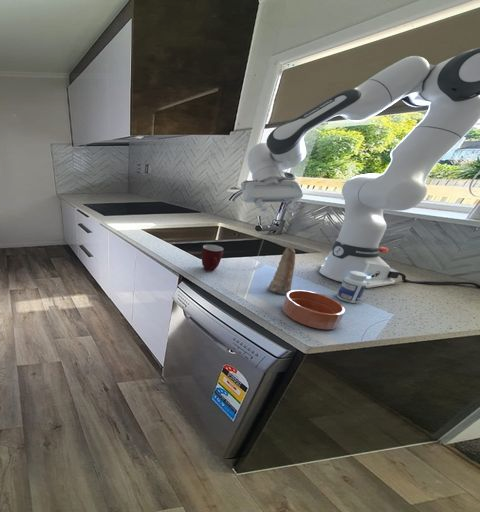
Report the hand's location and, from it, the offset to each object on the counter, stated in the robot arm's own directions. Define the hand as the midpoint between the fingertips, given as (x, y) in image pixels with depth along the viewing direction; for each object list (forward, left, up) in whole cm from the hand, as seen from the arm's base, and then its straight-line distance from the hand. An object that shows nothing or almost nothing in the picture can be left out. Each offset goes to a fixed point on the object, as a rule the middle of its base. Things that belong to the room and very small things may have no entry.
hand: (277, 210), depth 89 cm
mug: (+18, -6, -27) cm, 33 cm away
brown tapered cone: (+1, +12, -27) cm, 30 cm away
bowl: (+3, +27, -27) cm, 38 cm away
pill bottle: (-18, +18, -27) cm, 37 cm away
